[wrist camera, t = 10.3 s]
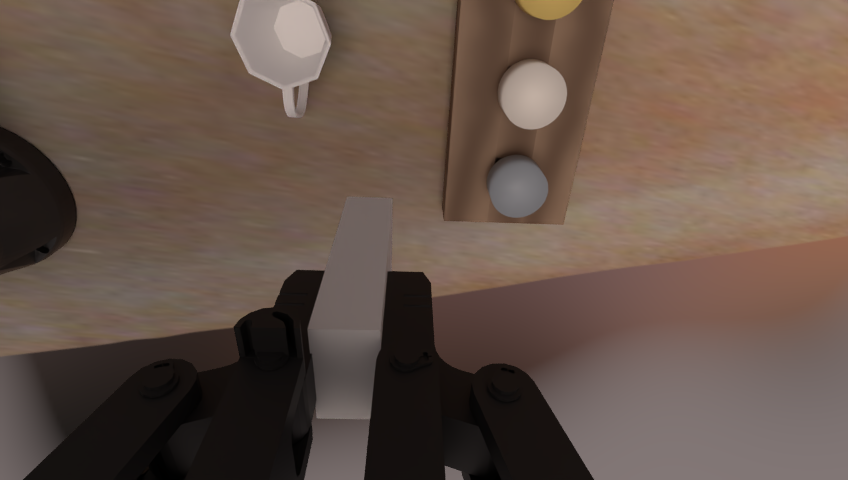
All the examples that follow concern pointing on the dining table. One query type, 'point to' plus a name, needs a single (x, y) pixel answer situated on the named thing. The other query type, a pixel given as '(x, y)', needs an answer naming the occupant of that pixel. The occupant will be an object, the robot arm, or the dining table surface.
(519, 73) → the cream button
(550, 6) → the mustard button
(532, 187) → the slate button
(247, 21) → the cup
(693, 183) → the dining table surface
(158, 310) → the dining table surface
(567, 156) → the panel
